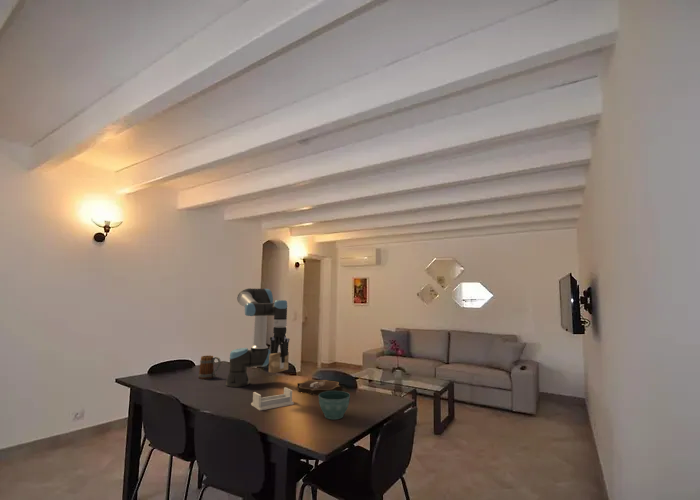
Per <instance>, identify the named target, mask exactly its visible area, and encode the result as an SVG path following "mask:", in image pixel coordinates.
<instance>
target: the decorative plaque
mask: <svg viewBox="0 0 700 500" xmlns="http://www.w3.org/2000/svg"><path fill="white" fill-rule="evenodd" d="M296 387H297V388H298V392H299V393H301V392H302V393H301V394H310V395H312V396H314V395H319V394H320V393H322V392H326V391H343V390H342V385H340V382H339V381H334V380H327V379H320V380H319V379H308V380H305V381H303V382H297V386H296Z"/></svg>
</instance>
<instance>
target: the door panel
mask: <svg viewBox="0 0 700 500" xmlns="http://www.w3.org/2000/svg"><path fill="white" fill-rule="evenodd" d="M289 353H290V352H289V351H288V355H287V356H285V362H284V368H282V369H280V356H281V351H278V352H277V353H273V354H271V353H270V354H269V363H268V373H269V374H270V373H271V374H275V373H279V372H283V371H288V370H289V359H290V357H289Z"/></svg>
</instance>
